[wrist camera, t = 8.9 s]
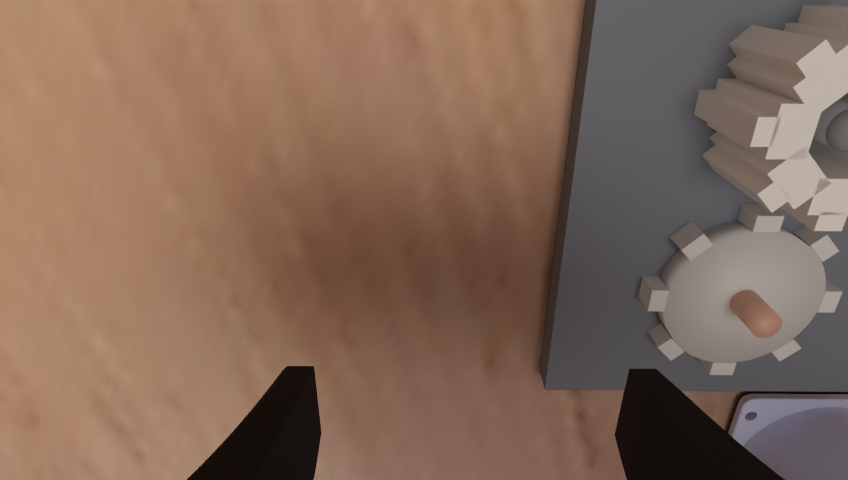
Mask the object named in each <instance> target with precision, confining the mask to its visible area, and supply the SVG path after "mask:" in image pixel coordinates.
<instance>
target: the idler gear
mask: <svg viewBox="0 0 848 480" xmlns="http://www.w3.org/2000/svg"><path fill="white" fill-rule="evenodd" d="M728 45H729V46H730V48H731V49H732V51H733V52H734V53H735V55H736V56H737V57H735V58H734V59H733V60H732V61H731V62H729V63H728V64H727V66H728V67H729V69H730V70H731V71H732V73H733V74H734V75H735V77H736V78H718V80H717V84H716V88H715V90H699V94H698V98H697V103H696V107H695V112H694V115H695V116H697V117H699V118H701V119H702V120H704V121H706V122H707V126H709V127H711V128H712V129H714V130H716V131H717V132H716V133H714V134H713V135H712V136H711V137H709V138H710V140H711V141H712V142H713V143H714V146H713V147H712V148H710V149H709V150H708V151H706V152H705V153H704V154H703V155H702V156H703V157H704V159H705V160H706V161H707V162H708V164H709V165H710V166H711V167H712V169H713V170H714V171H715V172H716V173H718V174H719V175H720V176H722V177H723V178H725V179H726V180H727V181H729V182H730V183H731V184H733V185H734V186H736V187H737V188H738V189H740V190H741V191H742V192H744V193H745V194H747V195H748V196H749V197H751V198H752V199H753V200H755V201H756V202H758V203H759V204H760V205H762V206H763V207H764V208H766V209H767V210H769V211H770V212H771V213H772V212H774V211H775V210H777V209H778V208H781V209H783V210H784V211H786V212H787V213H788V214H790V215H791V216H793V217H794V218H796V219H797V220H799V221H800V222H801V223H803V224H804V225H806V226H807V227H809V228H810V229H811V230H813V231H842V229H843V226H844V224H845V221H846V219H847V216H848V151H839V150H836V149H833V148H831V147H829V146H826V145H824V144H822V143H820V142H818V141H816V140H813V136H814V133H815V130H816V127H817V124H818V121H819V118H820V115H821V112H822V111H824V110H825V109H826V108H828V107H829V106H830V105H832V104H833V103H834V102H836V101H837V100H840V101H843V102H846V103H848V6H839V5H815V4H803V6H802V9H801V13H800V16H799V19H798V22H786V24H785V28H784V31H782V30H776V29H771V28H766V27H761V26H756V25H751V26H749V27H748V28H747V29H746V30H745V31H743V32H742V33H741V34H740V35H739V36H738V37H736V38H735V39H734V40H733V41H732V42H730V43H729V44H728Z"/></svg>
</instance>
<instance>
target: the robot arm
mask: <svg viewBox="0 0 848 480" xmlns="http://www.w3.org/2000/svg"><path fill="white" fill-rule="evenodd" d="M749 412H750V413H749ZM747 413H748V414H747ZM320 437H321V426H320V417H319V408H318V399H317V390H316V381H315V372H314V366H287V367H286V368H285V369H284V370H283V371H282V372H281V373H280V375H279V376H278V377H277V379H276V380H275V381H274V383H273V384H272V385H271V386H270V388H269V389H268V390H267V391H266V393H265V394H264V395H263V397H262V398H261V399H260V400H259V401H258V403H257V404H256V405H255V406H254V408H253V409H252V410H251V411H250V412H249V414H248V415H247V416H246V417H245V418H244V419H243V421H242V422H241V423H240V424H239V425H238V426H237V428H236V429H235V430H234V431H233V432H232V433H231V434H230V436H229V437H228V438H227V439H226V440H225V441H224V442H223V443H222V444H221V445H220V446H219V447H218V448H217V449H216V450H215V452H214V453H213V454H212V455H211V456H210V457H209V458H208V459H207V460H206V461H205V462H204V463H203V464H202V465H201V466H200V467H199V468H198V469H197V470H196V471H195V472H194V473H193V474H192V475H191V476H190V477H189V478H188V479H187V480H313V479H314V475H315V469H316V463H317V457H318V450H319V444H320ZM615 437H616V441H617V445H618V449H619V453H620V457H621V460H622V464H623V467H624V471H625V475H626V478H627V480H848V394H748V395H745V396H743V397H742V398H741V399H740V401H739V403H738V406H737V409H736V411H735V414H734V417H733V420H732V423H731V426H730V429H729V432H728V433H727V432H726V431H725V430H723V429H722V428H721V427H720V426H719V425H718V424H717V423H715V422H714V421H713V420H712V419H711V418H710V417H709V416H708V415H706V414H705V413H704V412H703V411H702V410H701V409H700V408H699V407H698V406H697V405H695V404H694V403H693V402H692V401H691V400H690V399H689V398H688V397H687V396H686V395H685V394H683V393H682V392H681V391H680V390H679V389H678V388H677V387H676V386H675V385H674V384H673V383H672V382H670V381H669V380H668V379H667V378H666V377H665V376H664V375H663V374H662V373H660V372H659V371H658V370H657V369H629V372H628V377H627V381H626V386H625V390H624V395H623V400H622V404H621V409H620V413H619V418H618V423H617V427H616V432H615Z"/></svg>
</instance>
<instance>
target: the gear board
mask: <svg viewBox="0 0 848 480" xmlns="http://www.w3.org/2000/svg"><path fill="white" fill-rule="evenodd" d="M803 4H815V5H839V6H848V0H586V3H585V11H584V19H583V27H582V35H581V43H580V51H579V59H578V67H577V75H576V83H575V91H574V99H573V107H572V115H571V123H570V131H569V139H568V147H567V156H566V164H565V172H564V180H563V188H562V196H561V204H560V212H559V220H558V228H557V236H556V244H555V252H554V260H553V268H552V276H551V284H550V292H549V300H548V308H547V316H546V324H545V332H544V340H543V348H542V356H541V364H540V374H541V377H542V381H543V385H544V388H545V390H625V386H626V381H627V377H628V372H629V369H657V370H658V371H659V372H660V373H662V374H663V375H664V376H665V377H666V378H667V379H668V380H669V381H670V382H672V383H673V384H674V385H675V386H676V387H677V388H678V389H679V390H680V391H804V392H848V216H847V219H846V221H845V224H844V226H843V229H842V231H813V230H811V229H810V228H809V227H807V226H806V225H804V224H803V223H801V222H800V221H799V220H797V219H796V218H794V217H793V216H791V215H790V214H788V213H787V212H786V211H784V210H783V209H781V208H778V209H777V210H775V211H774V212H772V213H771V212H770V211H769V210H767V209H766V208H764V207H763V206H762V205H760V204H759V203H758V202H756V201H755V200H753V199H752V198H751V197H749V196H748V195H747V194H745V193H744V192H742V191H741V190H740V189H738V188H737V187H736V186H734V185H733V184H731V183H730V182H729V181H727V180H726V179H725V178H723V177H722V176H720V175H719V174H718V173H716V172H715V171H714V170H713V169H712V167H711V166H710V165H709V164H708V162H707V161H706V160H705V159H704V157H703V156H702V155H703V154H704V153H705V152H706V151H708V150H709V149H710V148H712V147H713V146H714V143H713V142H712V141H711V140H710V138H709V137H711V136H712V135H713V134H714V133H716V132H717V131H716V130H714V129H712V128H711V127H709V126H707V122H706V121H704V120H702V119H701V118H699V117H697V116H695V115H694V112H695V107H696V103H697V98H698V94H699V90H715V88H716V84H717V80H718V78H736V77H735V75H734V74H733V73H732V71H731V70H730V69H729V67H728V66H727V64H728V63H729V62H731V61H732V60H733V59H734V58H735V57H737V56H736V55H735V53H734V52H733V51H732V49H731V48H730V46H729V45H728V44H729V43H730V42H732V41H733V40H734V39H735V38H736V37H738V36H739V35H740V34H741V33H742V32H743V31H745V30H746V29H747V28H748V27H749V26H751V25H756V26H761V27H766V28H771V29H776V30H782V31H784V28H785V24H786V22H798V19H799V16H800V13H801V9H802V6H803ZM813 140H816V141H818V142H820V143H822V144H824V145H826V146H829V147H831V148H833V149H836V150H839V151H848V103H846V102H843V101H840V100H837V101H836V102H834V103H833V104H832V105H830V106H829V107H828V108H826V109H825V110H824V111H822V112H821V115H820V118H819V121H818V124H817V127H816V130H815V133H814V136H813Z"/></svg>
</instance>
